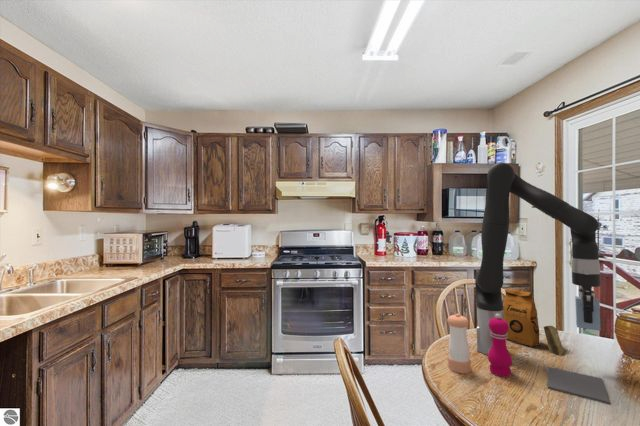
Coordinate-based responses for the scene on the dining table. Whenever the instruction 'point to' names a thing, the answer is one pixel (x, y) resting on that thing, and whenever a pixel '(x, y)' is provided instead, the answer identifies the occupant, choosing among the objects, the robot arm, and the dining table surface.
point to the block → (580, 315)
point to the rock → (553, 340)
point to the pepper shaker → (458, 344)
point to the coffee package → (521, 317)
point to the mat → (577, 384)
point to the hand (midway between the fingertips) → (587, 320)
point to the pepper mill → (499, 348)
